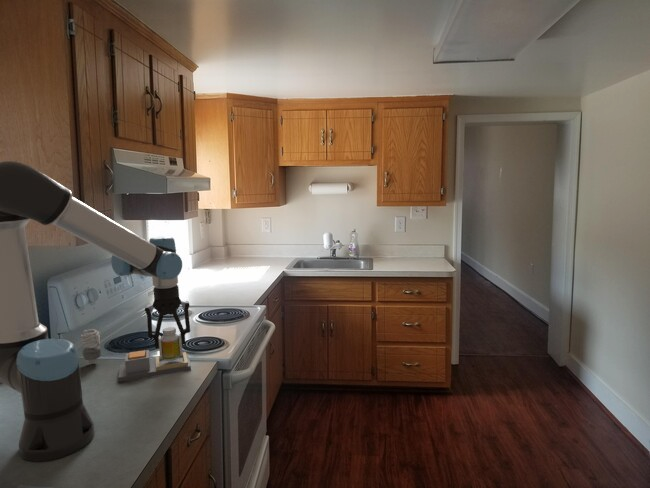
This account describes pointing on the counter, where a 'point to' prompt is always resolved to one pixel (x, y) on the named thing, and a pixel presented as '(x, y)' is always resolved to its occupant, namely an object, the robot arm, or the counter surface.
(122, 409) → the counter surface
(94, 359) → the light bulb
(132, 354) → the switch button
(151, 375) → the base
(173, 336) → the supplement bottle
